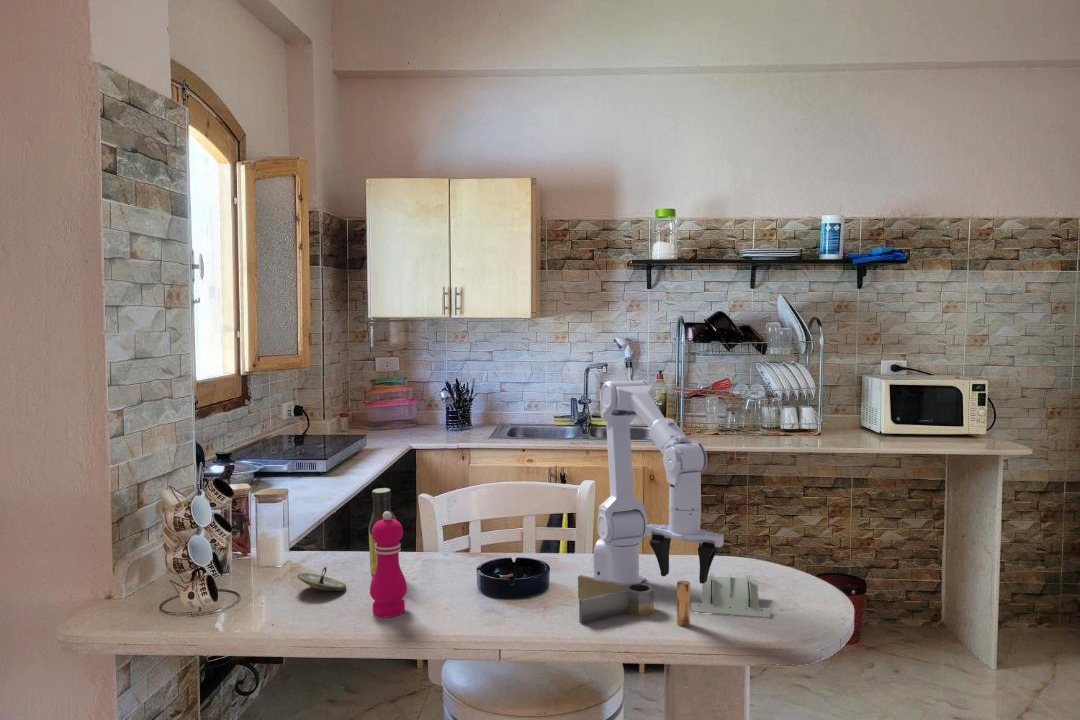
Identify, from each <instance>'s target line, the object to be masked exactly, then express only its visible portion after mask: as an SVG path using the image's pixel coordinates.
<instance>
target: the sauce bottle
mask: <svg viewBox="0 0 1080 720" xmlns="http://www.w3.org/2000/svg"><path fill="white" fill-rule="evenodd" d="M371 494H372V495H371V497H372V499H373V500H372V504H373V505H372V506H373V508H372V510H373V511H372V514H371V517H370V520H369V525H368V544H369V546H368V549H369V564H370V565H369V567H370V568H369V569H370V577H371V578H372V579H373V576H374V574H375V571H376V567H377V553H376V552H375V544H376V542H375V541H374V540H373V538H372V529H373V526H374V525H375V524H376V523H377V522H378V521H380V520H382V519H383V513H384V512H386V511H389V512H390V513H391V514H392V517H391V519H395V520H397V518H396V516H395V514H394V512H393V511H392V506H391V496H392V491H391V489H390V488H388V487H382V488H381V487H380V488H375V489H373V490H372V491H371ZM399 558H400V557H399V554H398V559H399ZM399 560H400V559H399ZM372 579H371V580H372Z"/></svg>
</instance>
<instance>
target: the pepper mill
mask: <svg viewBox="0 0 1080 720" xmlns="http://www.w3.org/2000/svg"><path fill="white" fill-rule="evenodd" d="M391 517H392V514H391V513H390V512H389V511H386V512H384V513H383V519H382V520H380V521H378V522H377V523H376V524H375V525H374V526H373V529H372V538H373V540H374V541H375V542H376V544H375V552H376V553H377V567H376V571H375V574H374V576H373V579H371V582H370V585H369V595H370V597H371V599H373V600H374V601H373V602H372V614H373V615H374V616H377V617H381V618H392V617H397V616H399V615H401V614H403V613H404V612H405V610H406V607H405V606H406V604H405V603H406V602H405V599H403V598H404V597H406V596H405V595H407V592H408V584H407V581H406V578H405V576H404V574H403V571H402V569H401V566H400V562H399V560H400V559H398V555H399V554H400V553H399V552H401V550H402V548H401V544H402V543H401V542H400V541H401V540H402V538H403V534H404V528H403V526H402V523H400V521H398V520H397V519H396V520H395V519H391Z"/></svg>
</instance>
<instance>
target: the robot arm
mask: <svg viewBox="0 0 1080 720" xmlns="http://www.w3.org/2000/svg"><path fill="white" fill-rule="evenodd" d="M599 408H600V410H599V411H600V418H601V419H603V420H604V421H605V422H606V423H605V424H606V425H605V426H606V442H607V443H606V444H607V458H608V459H607V461H608V462H607V463H608V480H609V497H608V498H606V499H605V500H604V502H602V503H601V504H599V506H598V515H597V516H598V517H597V521H596V527H597V533H598V535H599V537H600V538H598V540H597V541H596V543H595V545H594V547H593V548H594V549H593V578H597V579H602V580H607V581H612V582H617V583H622V584H627V585H628V584H632V583H642V582H644V581H645V580H646V579H647V577H646V576H645V575H640V543H642V542H643V538H644V537H646V536H647V537H651V539H650V540H649V545H650V547H651V549H652V550H653V552H654V553H653V554H654V555H655V557H656V559H657V560H656V561H657V563H658V566H659V571H660V576H661V577H666V576H668V575H669V574H670V551H671V549H670V548H671V541H672V540H678V541H683V542H691V543H697V544H701V545H700V546H698V547H697V553H698V560H699V576H698V578H699V584H704V583H705V582H706V581H707V578H708V576H709V574H710V569H711V566H712V564H713V563H712V562H713V560H714V558H715V556H716V554H717V552H718V550H719V548H721V547H723V546H724V538H725V537H724V534H722V533H716V532H713V531H710V530H706V529H702V528H701V473H703V472H704V471H705V470H706V469H707V465H708V456H707V455H708V454H707V452H706V449H705V446H704V445H703V443H702V442H700V441H697V440H695V441H694V440H693V439H689V437H687V435H686V433H685V432H683V430H682V429H681V427H679V425H678V424H677V423H676V421H675V420H674V419H673V418H669V417H665V416H664V415H663V413H662V411H661V409H660V408H659V407H658V405H657V403H656V402H655V400H654V389H653V387H652V386H651V385H650V382H649V381H648V380H646V379H641V380H624V381H623V380H622V381H618V380H617V381H610V380H607V381H605V382H604V383H603V385H602V387H601V389H600V391H599ZM638 417H639V418H640V420H642V421H643V423H644V424H645V425H646V426H647V427H648V428H649V434H648V436H649V438H650V440H651V441H652V443H653V444H654V445H655V446H656V448H657V449H658V450H659V452H660V453H661V455H662V462H663V467H664V470H665V475H666V477H665V478H666V482H667V483H668V488H669V489H668V496H669V497H668V524H655V523H650V524H649V521H648V518H647V515H646V510H645V509H646V508H645V504H644V503H643V502H642V501H641V500H639V499H638V498H636V497H635V496H634V480H633V479H634V478H633V463H632V462H633V461H632V460H633V459H632V444H631V443H632V442H631V427H630V425H631V423H632V422H633V420H634V419H635V418H638Z"/></svg>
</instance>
